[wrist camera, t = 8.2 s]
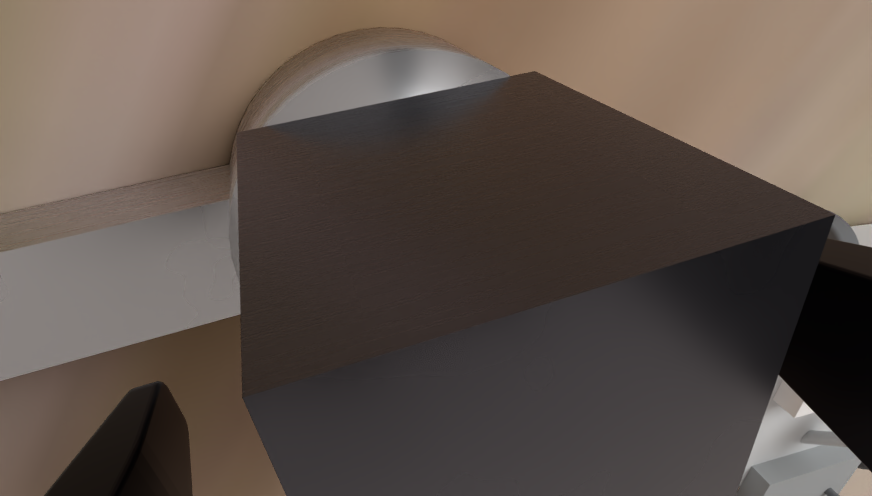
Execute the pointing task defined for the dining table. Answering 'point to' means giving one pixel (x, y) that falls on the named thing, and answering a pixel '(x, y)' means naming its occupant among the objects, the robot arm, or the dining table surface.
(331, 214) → the dark grey block
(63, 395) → the dining table surface
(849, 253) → the robot arm
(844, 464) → the toy car
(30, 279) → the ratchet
